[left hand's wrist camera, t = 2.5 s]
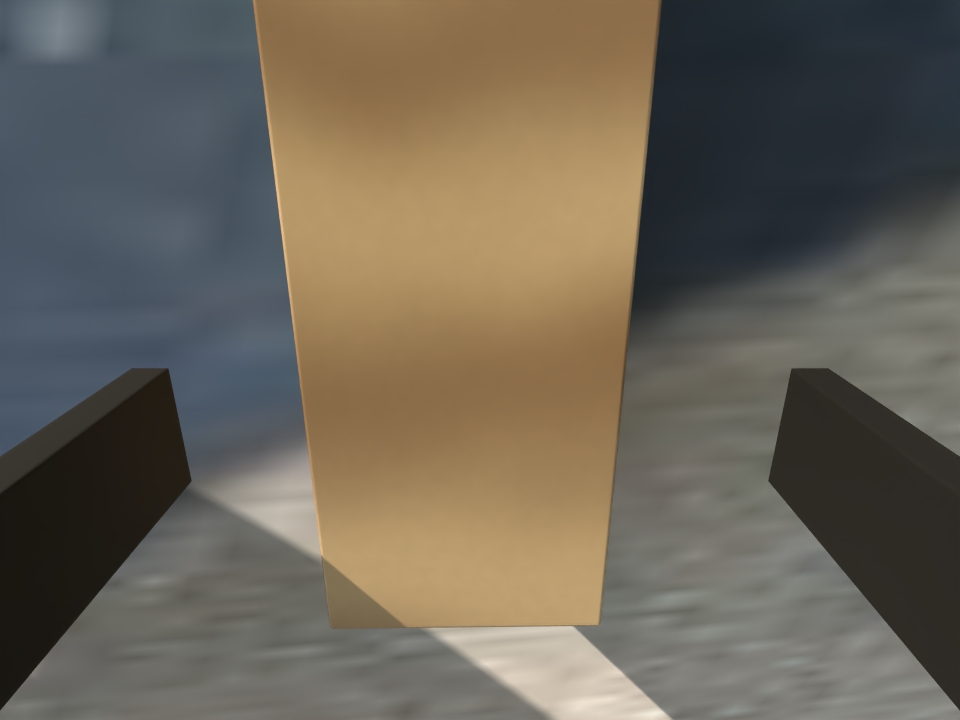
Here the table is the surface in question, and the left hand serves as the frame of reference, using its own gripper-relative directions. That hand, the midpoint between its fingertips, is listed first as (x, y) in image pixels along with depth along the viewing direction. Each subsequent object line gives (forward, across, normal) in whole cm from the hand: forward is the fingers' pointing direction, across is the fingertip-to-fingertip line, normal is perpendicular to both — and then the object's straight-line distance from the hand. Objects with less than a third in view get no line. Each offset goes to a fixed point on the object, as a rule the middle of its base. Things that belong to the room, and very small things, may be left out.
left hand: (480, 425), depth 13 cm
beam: (+7, 0, +15) cm, 16 cm away
